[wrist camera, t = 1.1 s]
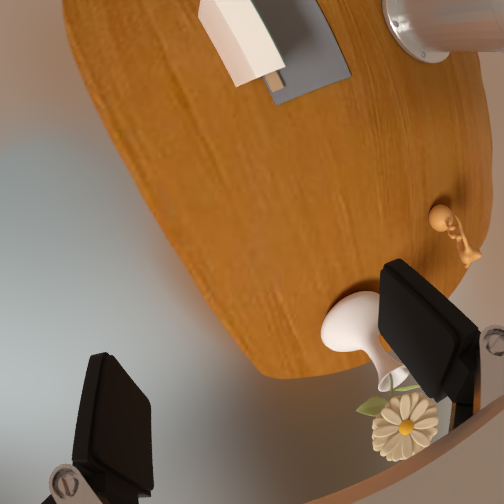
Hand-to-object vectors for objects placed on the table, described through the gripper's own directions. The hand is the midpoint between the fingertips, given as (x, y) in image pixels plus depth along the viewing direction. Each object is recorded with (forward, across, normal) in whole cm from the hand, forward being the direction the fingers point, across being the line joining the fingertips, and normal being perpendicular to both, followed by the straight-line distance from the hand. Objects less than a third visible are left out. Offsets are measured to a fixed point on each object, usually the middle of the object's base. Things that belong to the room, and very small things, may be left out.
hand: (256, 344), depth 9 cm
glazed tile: (+24, -6, -13) cm, 28 cm away
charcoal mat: (+24, -12, -14) cm, 30 cm away
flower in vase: (+24, -14, +26) cm, 38 cm away
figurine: (+24, -30, +13) cm, 41 cm away
